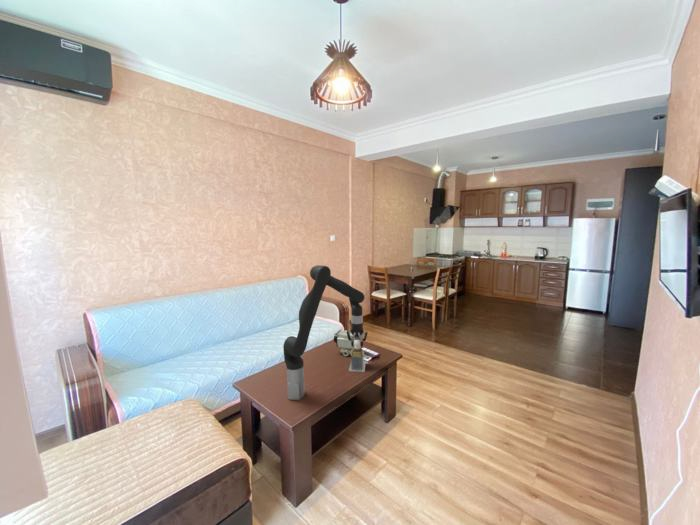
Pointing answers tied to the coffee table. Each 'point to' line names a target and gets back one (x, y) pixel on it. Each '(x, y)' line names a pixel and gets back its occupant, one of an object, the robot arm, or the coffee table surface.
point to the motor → (357, 361)
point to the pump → (357, 343)
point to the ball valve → (343, 342)
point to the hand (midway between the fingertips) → (357, 346)
